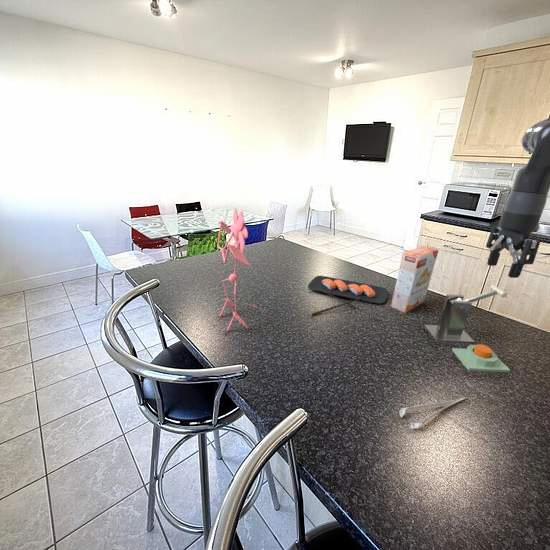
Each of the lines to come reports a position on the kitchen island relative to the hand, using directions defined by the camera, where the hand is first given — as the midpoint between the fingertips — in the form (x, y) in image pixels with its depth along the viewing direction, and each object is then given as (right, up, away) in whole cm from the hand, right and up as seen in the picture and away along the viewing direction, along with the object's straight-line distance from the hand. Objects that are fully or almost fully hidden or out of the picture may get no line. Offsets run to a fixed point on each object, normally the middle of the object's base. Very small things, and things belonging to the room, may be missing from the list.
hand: (501, 270), depth 79 cm
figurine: (-71, -16, +15) cm, 74 cm away
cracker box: (-14, -12, +26) cm, 32 cm away
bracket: (-9, -20, +9) cm, 23 cm away
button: (-8, -21, -3) cm, 23 cm away
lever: (-4, -9, +4) cm, 10 cm away
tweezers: (-27, -30, -16) cm, 43 cm away
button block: (-8, -24, -2) cm, 26 cm away
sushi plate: (-36, -11, +28) cm, 47 cm away
